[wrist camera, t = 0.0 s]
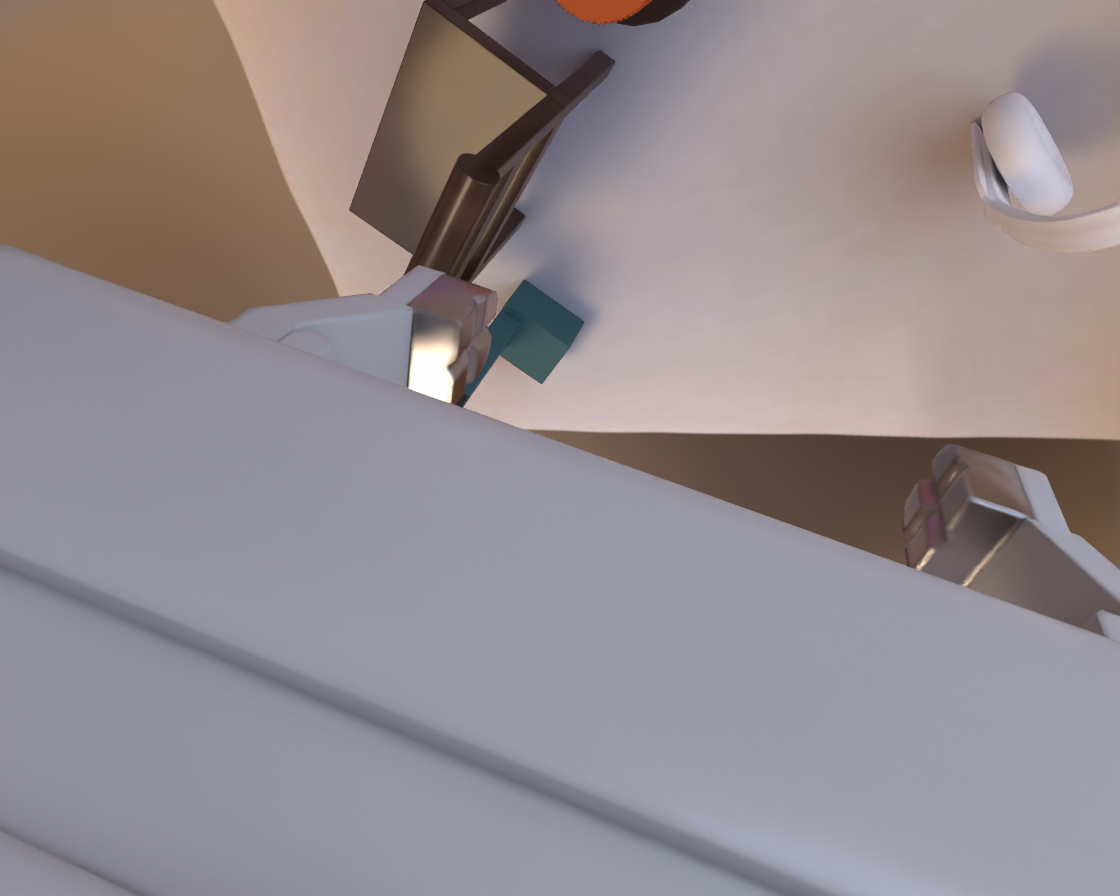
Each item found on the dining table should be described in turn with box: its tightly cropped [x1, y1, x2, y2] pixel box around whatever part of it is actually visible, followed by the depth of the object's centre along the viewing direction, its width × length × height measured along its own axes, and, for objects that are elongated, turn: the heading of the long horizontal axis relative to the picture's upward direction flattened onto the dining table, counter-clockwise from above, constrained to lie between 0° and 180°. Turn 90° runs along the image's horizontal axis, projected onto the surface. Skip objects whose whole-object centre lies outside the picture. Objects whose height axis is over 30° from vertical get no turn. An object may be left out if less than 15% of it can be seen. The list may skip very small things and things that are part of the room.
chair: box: [349, 0, 615, 283], centre depth 42 cm, size 9×14×22 cm
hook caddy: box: [456, 280, 584, 408], centre depth 54 cm, size 12×5×16 cm, turn 60°
